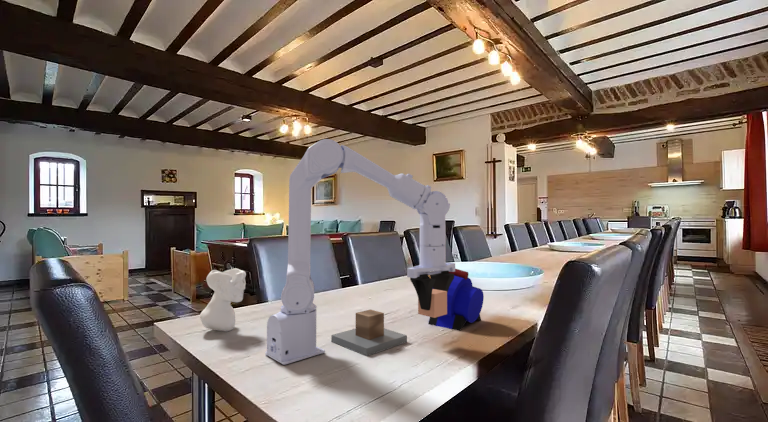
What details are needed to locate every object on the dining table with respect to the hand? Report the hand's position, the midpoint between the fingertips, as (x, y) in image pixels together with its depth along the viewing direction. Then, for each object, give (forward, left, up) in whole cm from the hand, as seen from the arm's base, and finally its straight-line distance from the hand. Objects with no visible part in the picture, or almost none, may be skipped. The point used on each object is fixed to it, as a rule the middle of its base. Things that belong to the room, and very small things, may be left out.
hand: (432, 307), depth 80 cm
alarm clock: (+18, +6, -8) cm, 21 cm away
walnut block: (-9, +11, -7) cm, 15 cm away
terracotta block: (0, 0, -2) cm, 2 cm away
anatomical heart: (-29, +42, -8) cm, 52 cm away
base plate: (-9, +11, -8) cm, 16 cm away
